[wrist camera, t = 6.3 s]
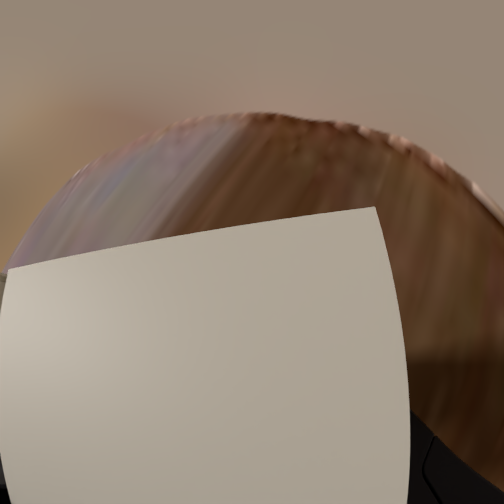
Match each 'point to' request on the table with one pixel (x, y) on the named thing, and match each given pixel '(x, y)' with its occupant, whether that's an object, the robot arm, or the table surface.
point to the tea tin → (209, 370)
